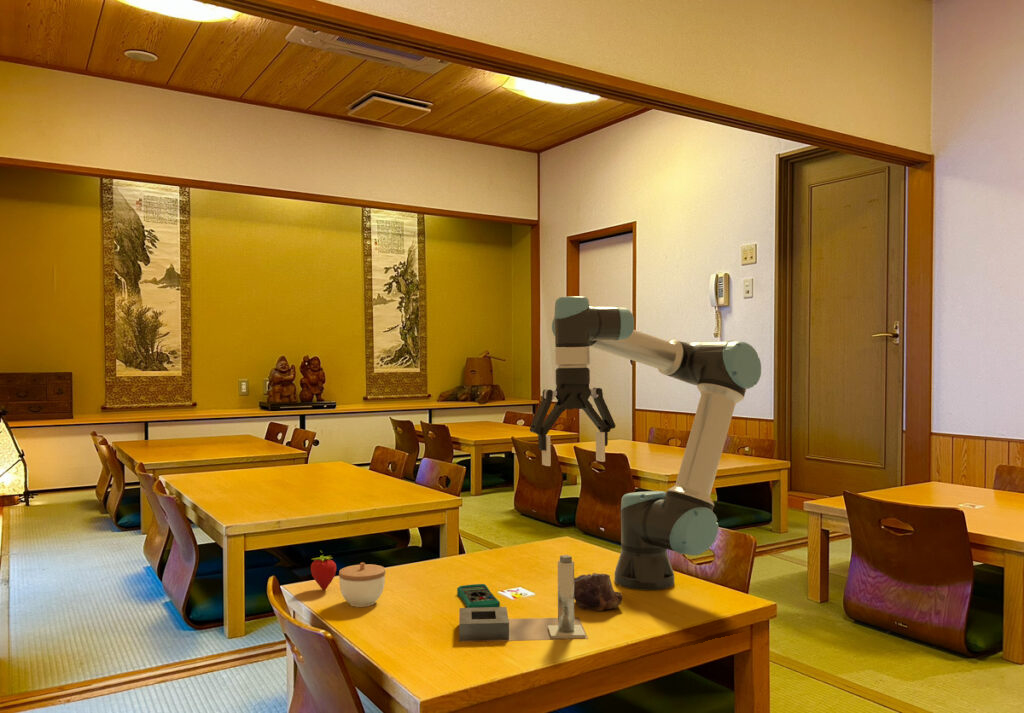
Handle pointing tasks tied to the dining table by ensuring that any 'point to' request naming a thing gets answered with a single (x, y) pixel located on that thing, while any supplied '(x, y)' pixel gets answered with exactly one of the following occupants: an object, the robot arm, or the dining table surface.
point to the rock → (595, 592)
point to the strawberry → (323, 571)
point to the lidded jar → (362, 584)
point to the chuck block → (483, 624)
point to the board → (532, 629)
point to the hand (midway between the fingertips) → (573, 463)
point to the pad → (556, 634)
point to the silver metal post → (566, 594)
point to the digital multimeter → (477, 596)
